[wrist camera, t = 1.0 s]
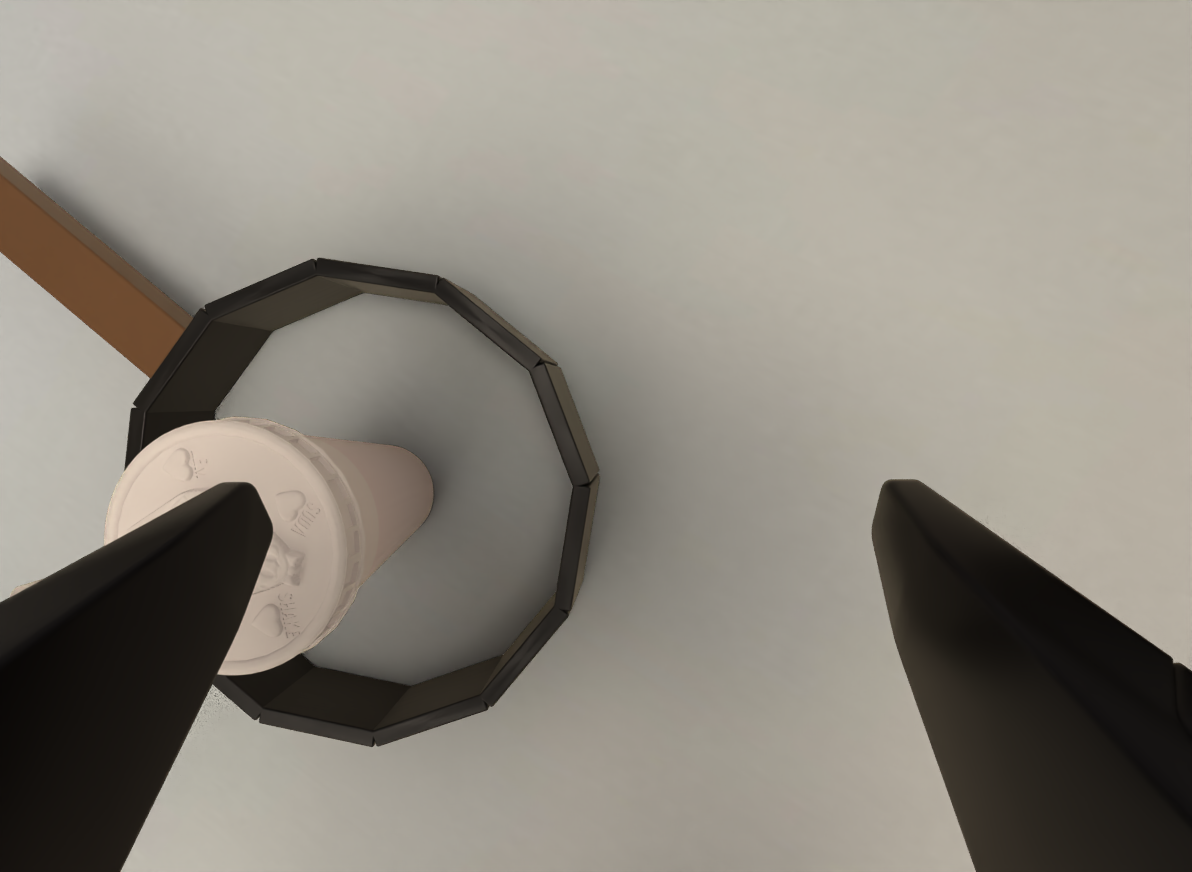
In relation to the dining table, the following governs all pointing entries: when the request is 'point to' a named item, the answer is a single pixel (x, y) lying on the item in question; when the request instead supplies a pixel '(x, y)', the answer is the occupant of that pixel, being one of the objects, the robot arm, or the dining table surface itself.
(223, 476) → the smoothie
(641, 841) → the dining table surface
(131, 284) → the pan
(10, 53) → the dining table surface
